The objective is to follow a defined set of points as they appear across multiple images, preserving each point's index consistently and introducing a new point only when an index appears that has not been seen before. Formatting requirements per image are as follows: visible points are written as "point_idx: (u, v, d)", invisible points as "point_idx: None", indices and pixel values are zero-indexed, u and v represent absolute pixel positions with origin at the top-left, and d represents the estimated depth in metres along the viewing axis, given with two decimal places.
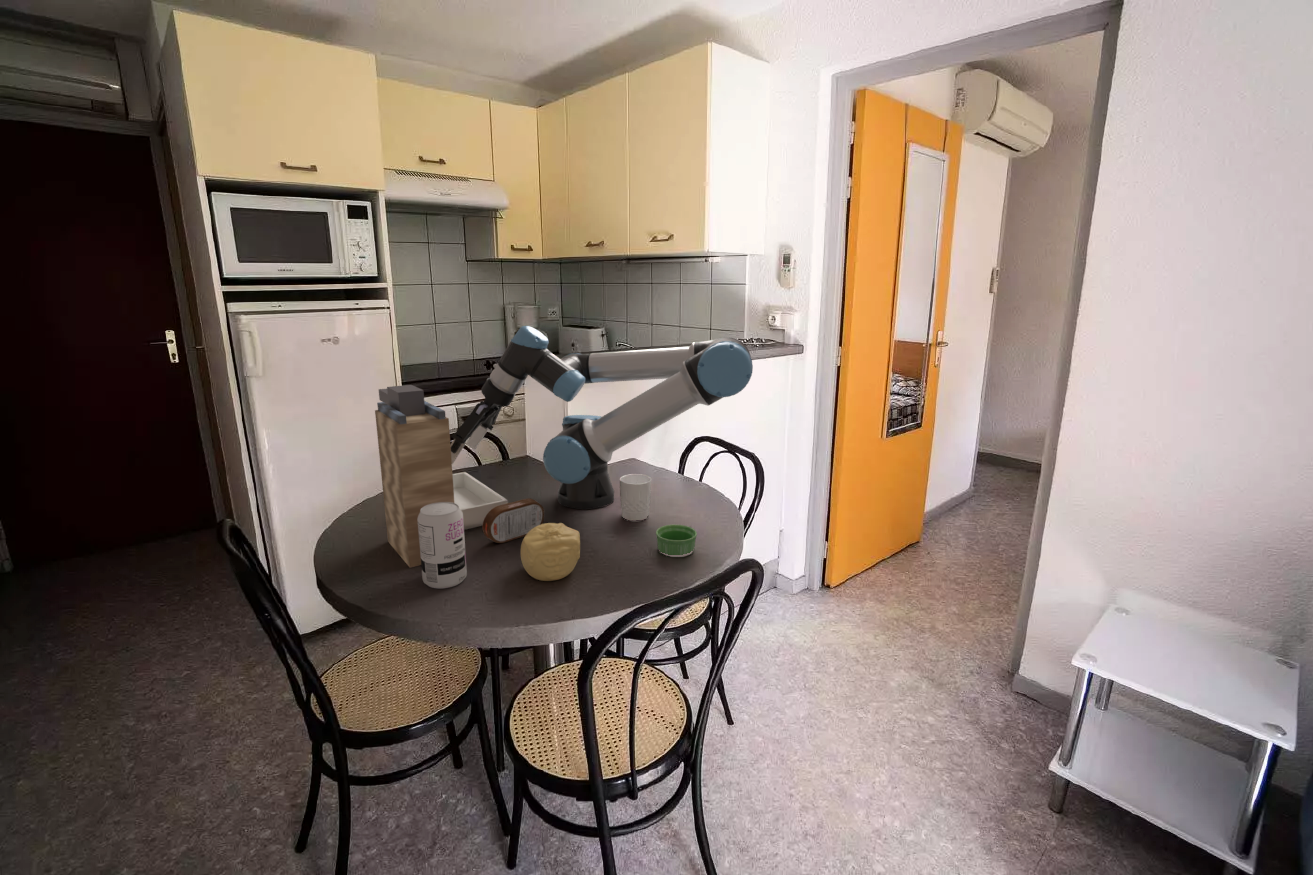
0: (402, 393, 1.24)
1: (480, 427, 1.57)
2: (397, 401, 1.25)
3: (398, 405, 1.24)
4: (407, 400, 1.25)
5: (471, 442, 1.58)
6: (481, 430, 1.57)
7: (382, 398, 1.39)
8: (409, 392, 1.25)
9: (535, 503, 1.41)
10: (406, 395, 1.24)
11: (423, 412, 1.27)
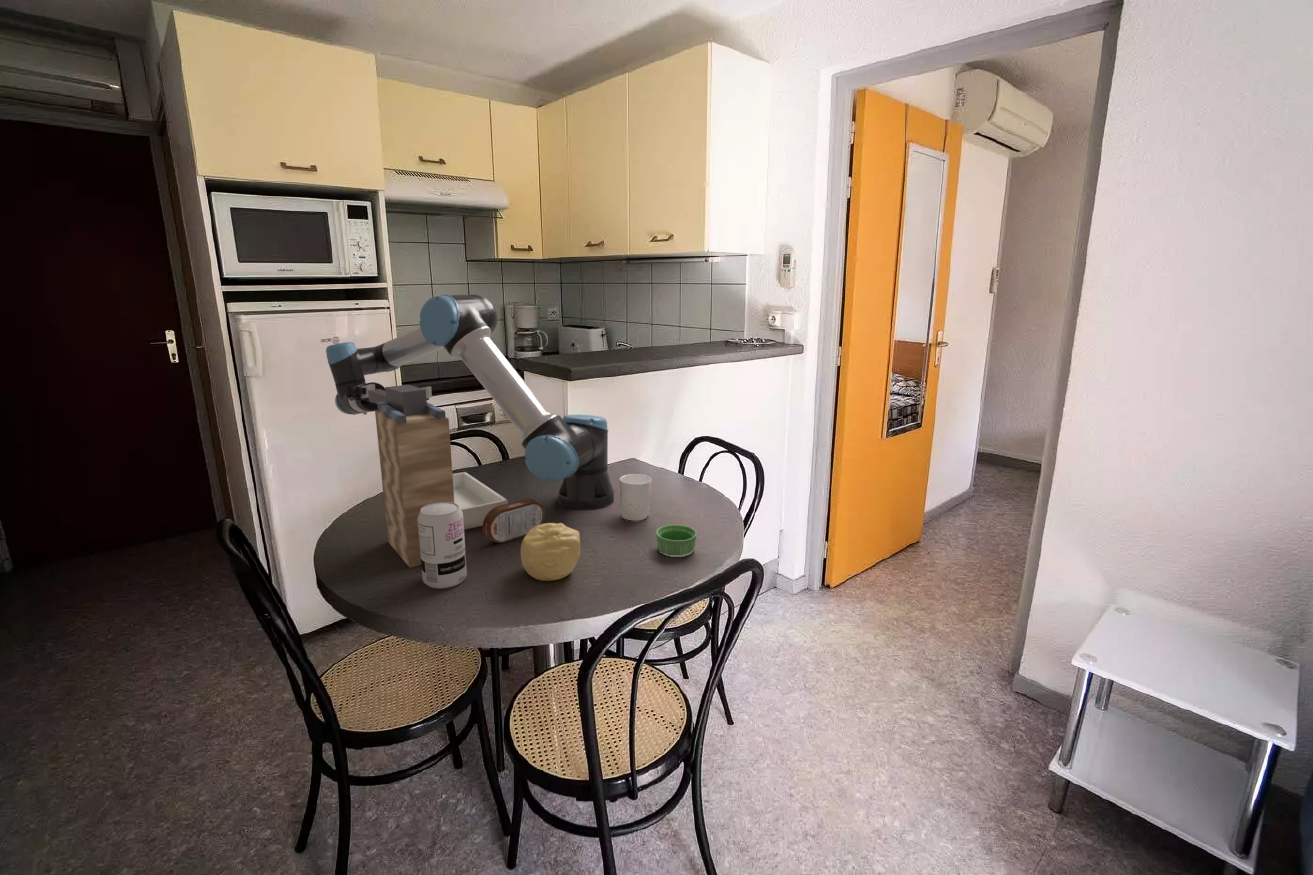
0: (406, 393, 1.24)
1: None
2: (400, 401, 1.25)
3: (401, 405, 1.25)
4: (410, 399, 1.25)
5: (426, 393, 1.53)
6: None
7: (373, 399, 1.37)
8: (412, 391, 1.25)
9: (535, 503, 1.41)
10: (409, 395, 1.25)
11: (425, 411, 1.28)
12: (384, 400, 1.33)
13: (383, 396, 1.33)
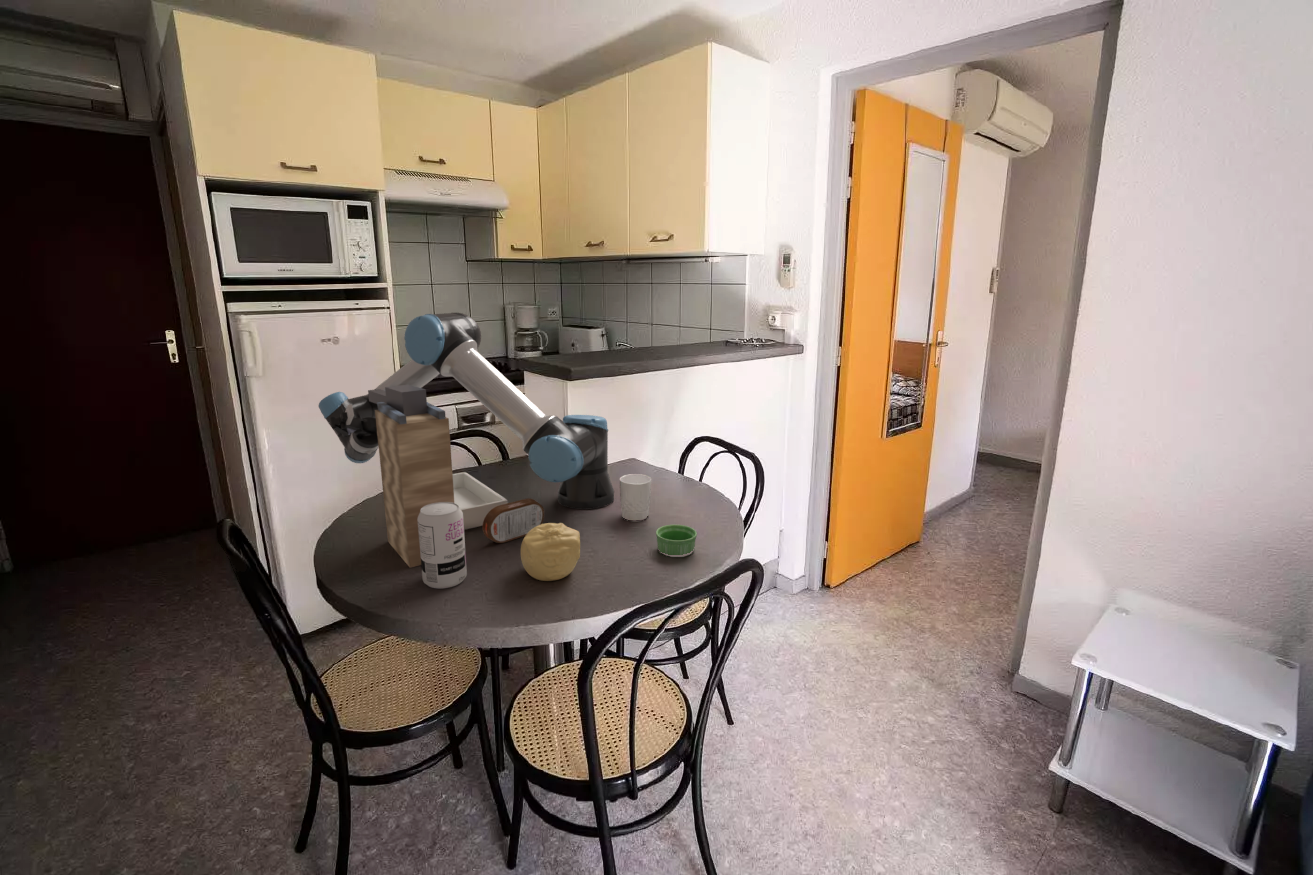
0: (406, 393, 1.24)
1: None
2: (400, 401, 1.25)
3: (401, 405, 1.25)
4: (410, 399, 1.25)
5: None
6: None
7: (373, 399, 1.37)
8: (412, 391, 1.25)
9: (535, 503, 1.41)
10: (409, 395, 1.25)
11: (425, 411, 1.28)
12: (384, 400, 1.33)
13: (383, 396, 1.33)
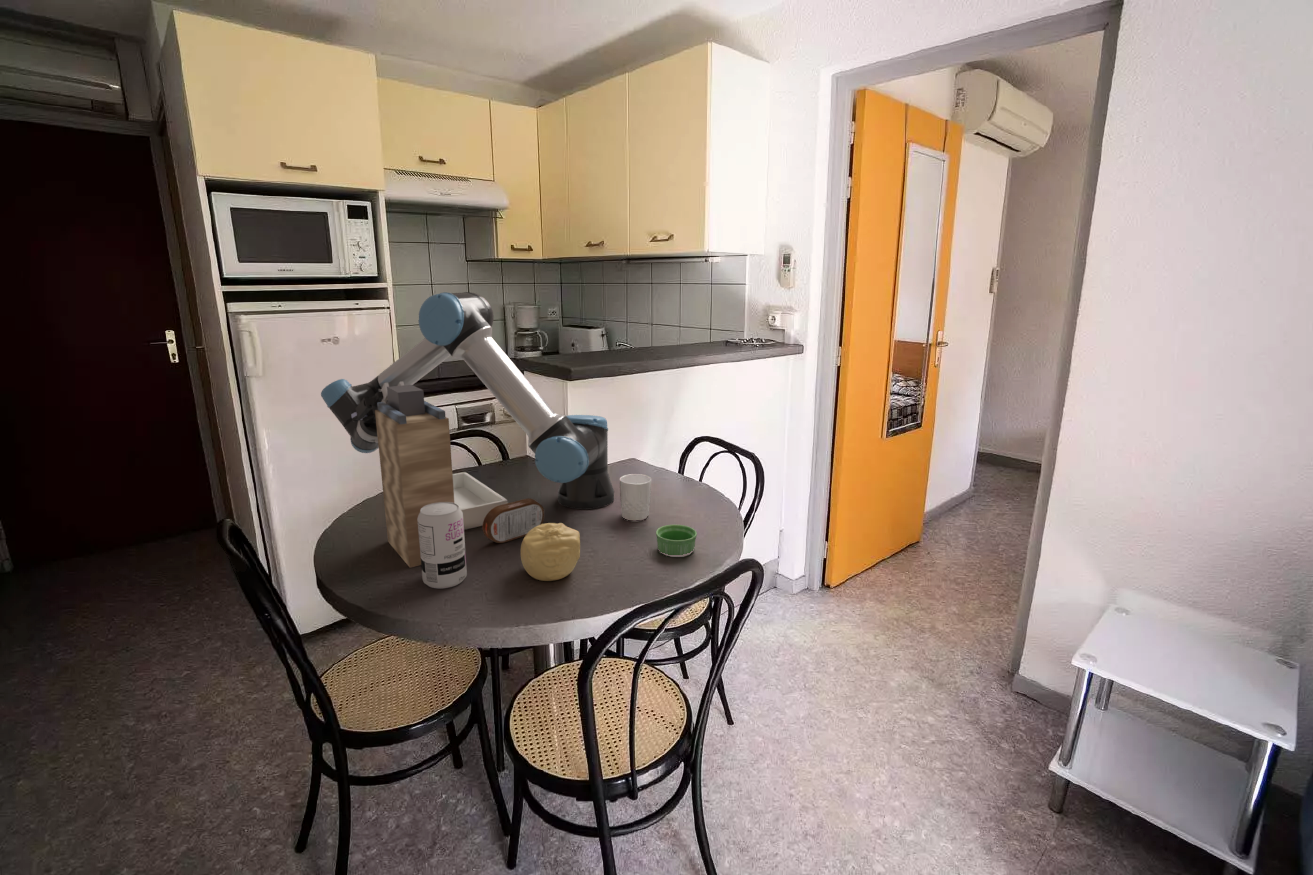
0: (402, 393, 1.24)
1: None
2: (397, 401, 1.25)
3: (398, 405, 1.24)
4: (407, 400, 1.25)
5: None
6: None
7: None
8: (409, 392, 1.25)
9: (535, 503, 1.41)
10: (406, 395, 1.24)
11: (423, 412, 1.27)
12: None
13: None
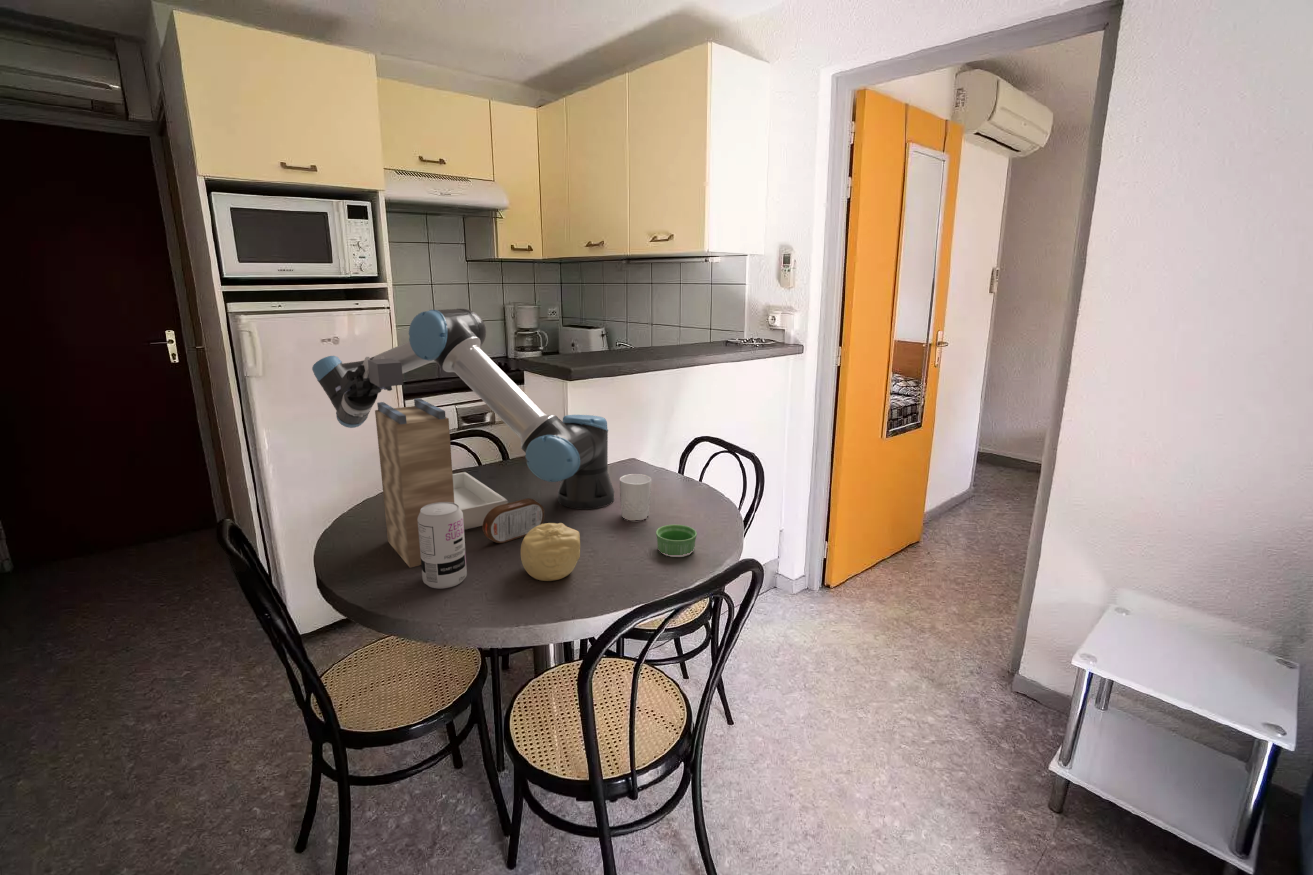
0: (381, 364, 1.33)
1: None
2: (376, 372, 1.34)
3: (377, 376, 1.33)
4: (386, 371, 1.34)
5: None
6: None
7: None
8: (388, 364, 1.34)
9: (535, 503, 1.41)
10: (385, 366, 1.33)
11: (401, 383, 1.36)
12: None
13: None
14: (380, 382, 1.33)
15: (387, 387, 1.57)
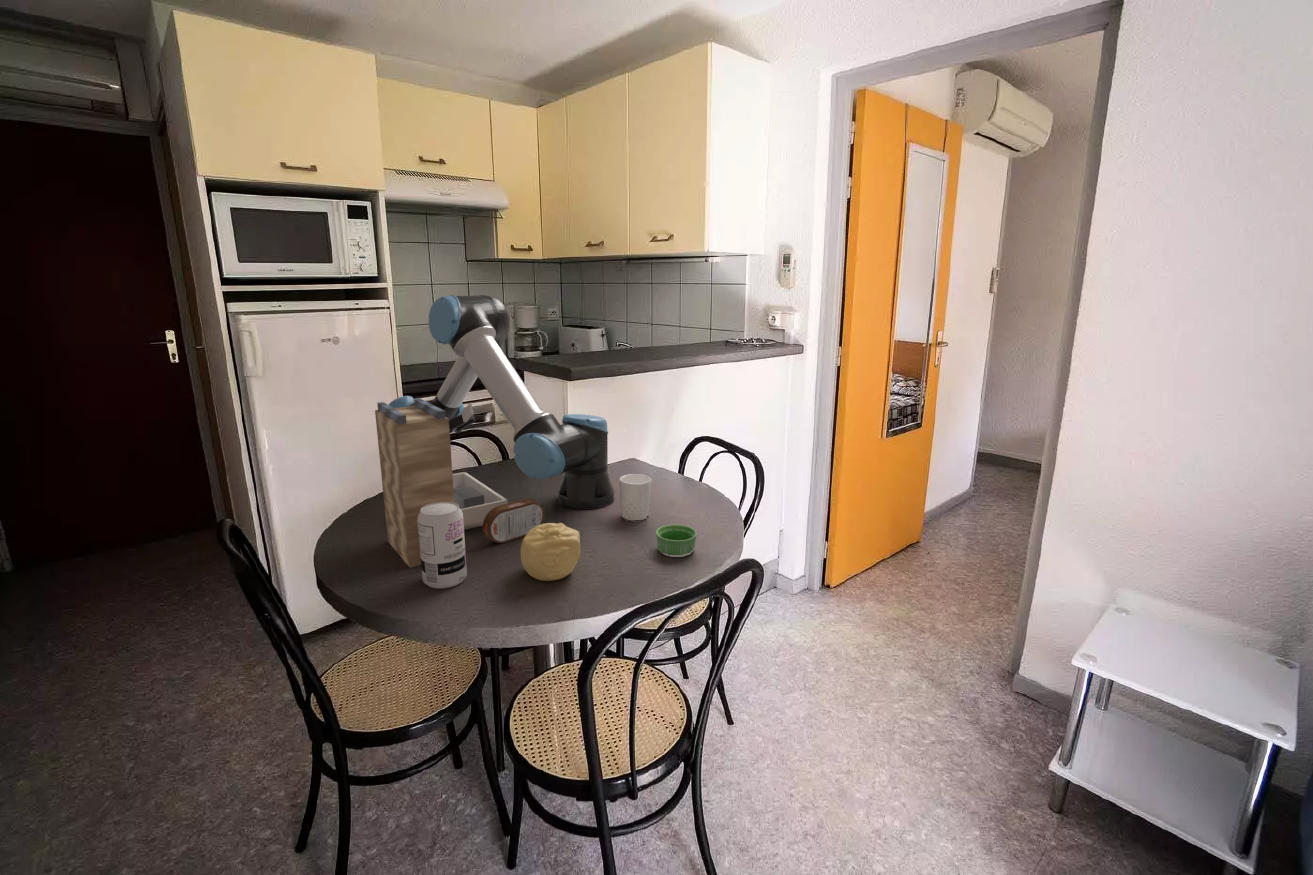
0: (467, 499, 1.48)
1: (463, 418, 1.61)
2: (462, 505, 1.49)
3: None
4: (471, 504, 1.49)
5: (468, 411, 1.57)
6: (463, 415, 1.60)
7: None
8: (472, 498, 1.49)
9: (535, 503, 1.41)
10: (470, 500, 1.49)
11: None
12: None
13: None
14: None
15: (460, 430, 1.68)
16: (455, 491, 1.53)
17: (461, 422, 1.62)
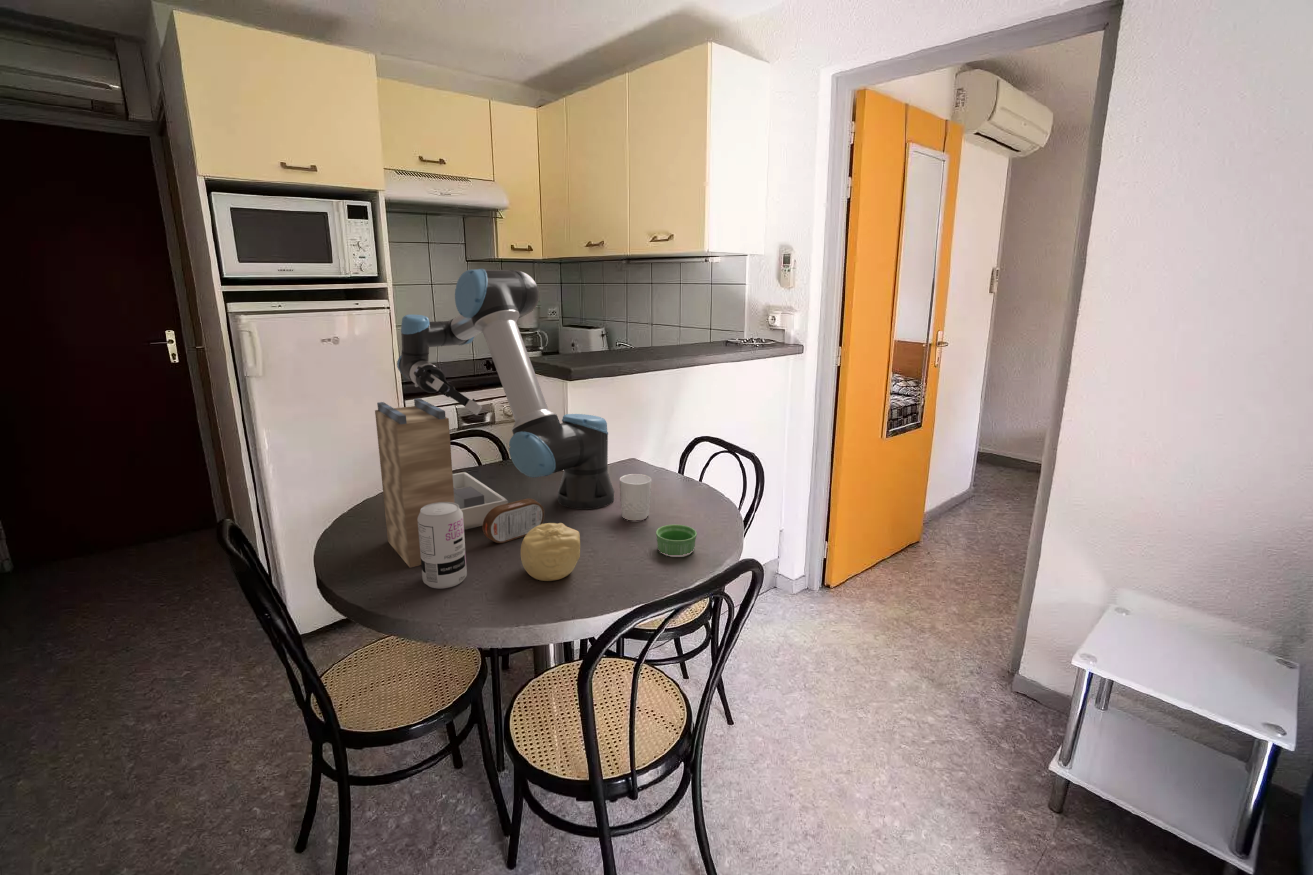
0: (467, 499, 1.48)
1: (467, 404, 1.72)
2: (462, 505, 1.49)
3: None
4: (471, 504, 1.49)
5: (475, 409, 1.69)
6: (469, 403, 1.72)
7: None
8: (472, 498, 1.49)
9: (535, 503, 1.41)
10: (470, 500, 1.49)
11: None
12: None
13: None
14: None
15: None
16: (455, 491, 1.53)
17: (463, 403, 1.73)
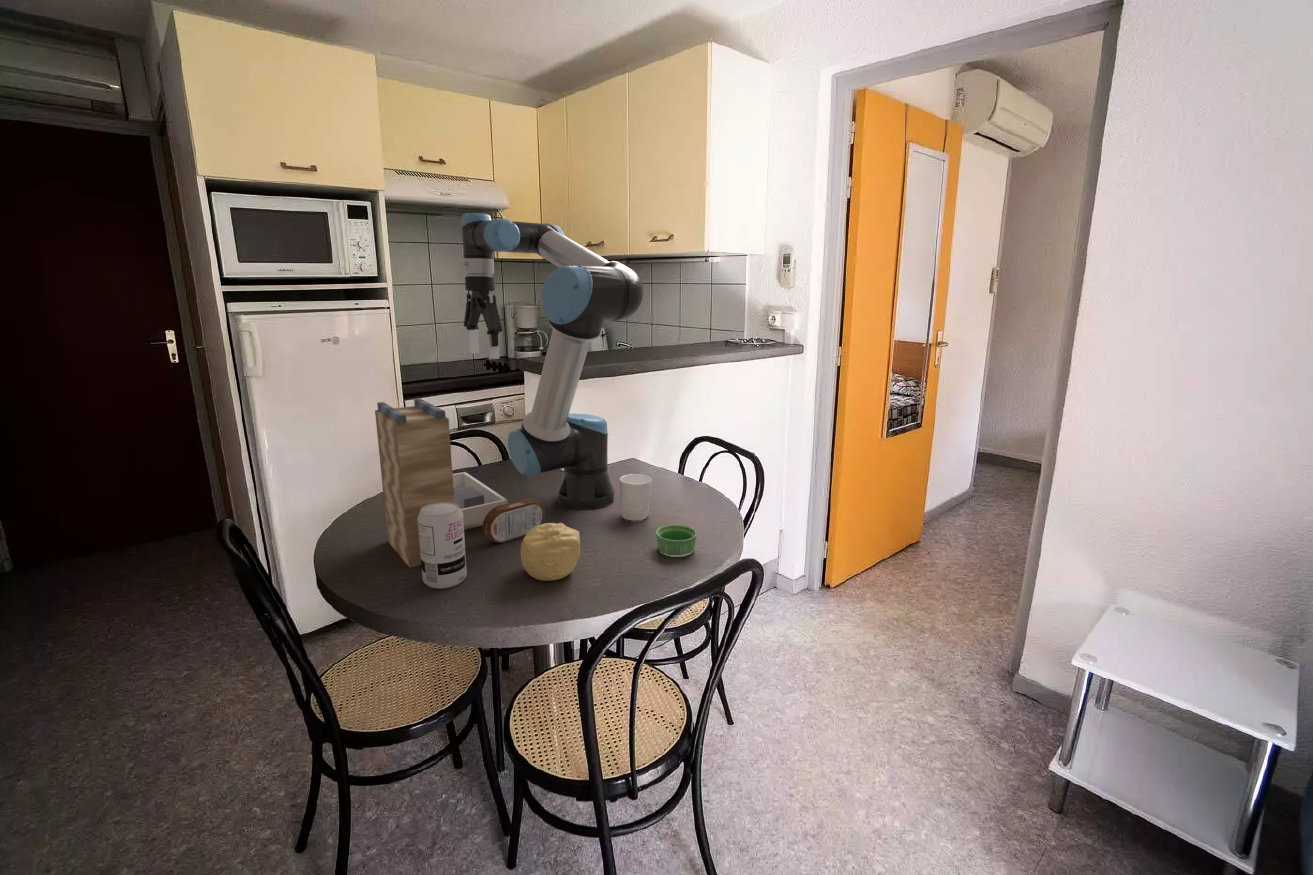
0: (467, 499, 1.48)
1: (471, 331, 1.71)
2: (462, 505, 1.49)
3: None
4: (471, 504, 1.49)
5: (473, 349, 1.72)
6: (474, 333, 1.72)
7: None
8: (472, 498, 1.49)
9: (535, 503, 1.41)
10: (470, 500, 1.49)
11: None
12: None
13: None
14: None
15: (467, 303, 1.69)
16: (455, 491, 1.53)
17: (470, 324, 1.70)
